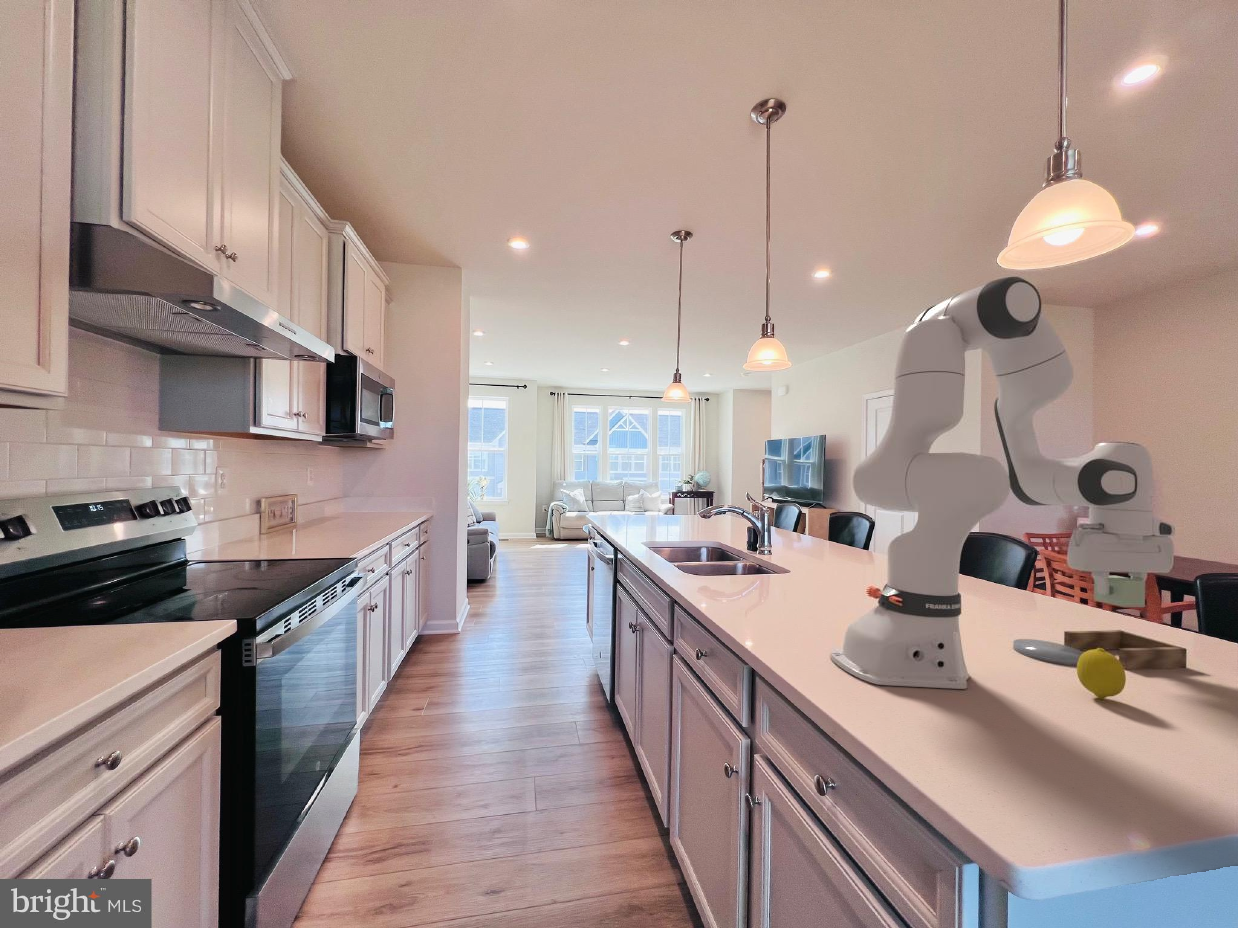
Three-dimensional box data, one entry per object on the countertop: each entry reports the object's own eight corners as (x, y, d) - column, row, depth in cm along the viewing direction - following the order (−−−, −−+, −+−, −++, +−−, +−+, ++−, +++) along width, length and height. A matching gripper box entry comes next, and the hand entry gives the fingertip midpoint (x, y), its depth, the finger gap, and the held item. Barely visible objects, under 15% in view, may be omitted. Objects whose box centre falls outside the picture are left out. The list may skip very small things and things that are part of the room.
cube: (1122, 606, 93) (1123, 580, 93) (1093, 600, 98) (1094, 575, 98) (1144, 606, 94) (1145, 580, 94) (1115, 600, 99) (1115, 575, 99)
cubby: (1125, 669, 90) (1125, 650, 90) (1064, 648, 100) (1064, 631, 100) (1186, 667, 91) (1186, 648, 92) (1120, 646, 102) (1120, 630, 102)
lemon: (1103, 692, 80) (1104, 643, 80) (1136, 708, 74) (1136, 655, 74) (1067, 689, 80) (1067, 641, 80) (1096, 705, 75) (1097, 653, 75)
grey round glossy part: (1053, 666, 90) (1053, 659, 90) (999, 645, 101) (999, 639, 101) (1103, 664, 92) (1103, 658, 92) (1045, 643, 103) (1045, 638, 103)
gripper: (1092, 524, 92) (1091, 598, 91) (1182, 527, 94) (1182, 598, 94) (1057, 521, 98) (1056, 590, 98) (1143, 524, 101) (1142, 591, 100)
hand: (1118, 594), depth 96 cm, fingers closed on cube, 5 cm apart
